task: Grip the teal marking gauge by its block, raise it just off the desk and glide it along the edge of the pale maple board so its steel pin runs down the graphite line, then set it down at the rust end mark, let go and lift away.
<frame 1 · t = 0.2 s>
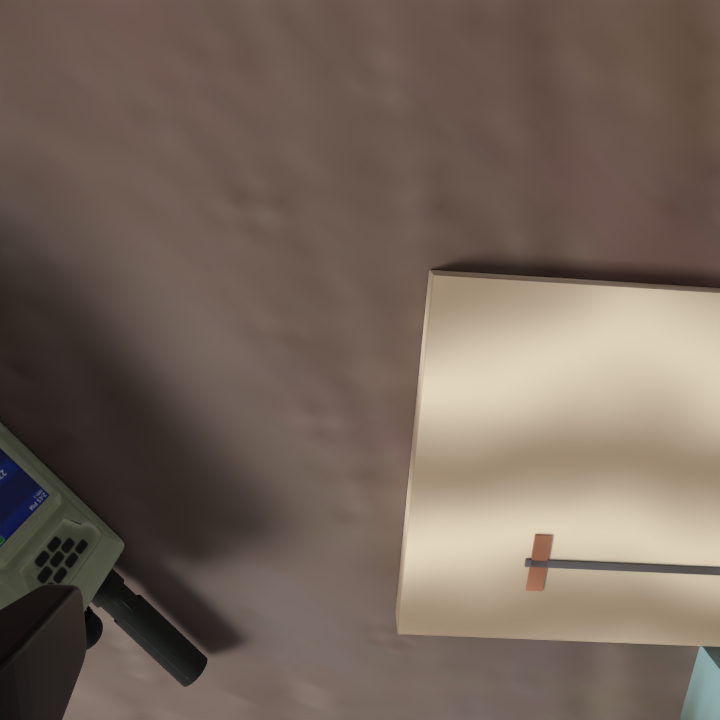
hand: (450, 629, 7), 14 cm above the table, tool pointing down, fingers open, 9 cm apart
maple board: (672, 469, 23), on the table
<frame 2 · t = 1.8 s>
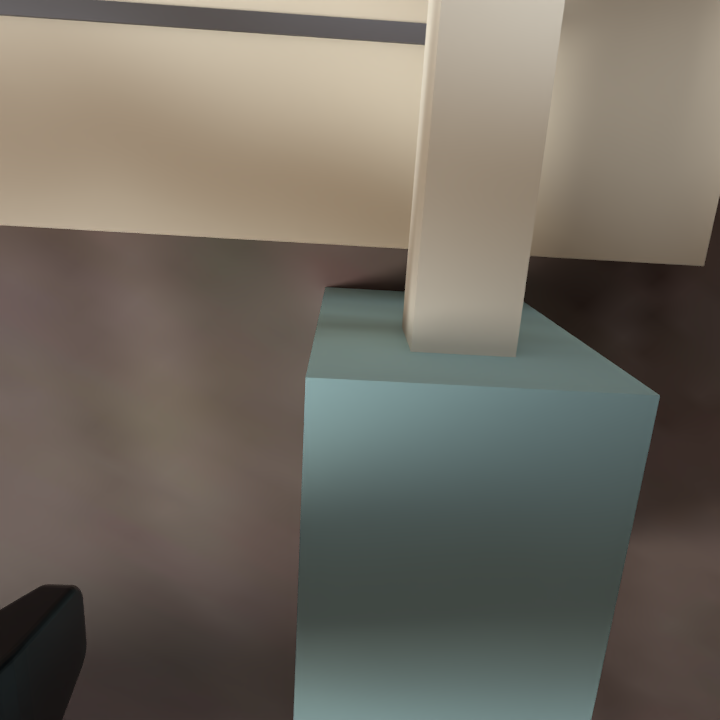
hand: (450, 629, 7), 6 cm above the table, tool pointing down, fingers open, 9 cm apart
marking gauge: (410, 426, 13), on the table
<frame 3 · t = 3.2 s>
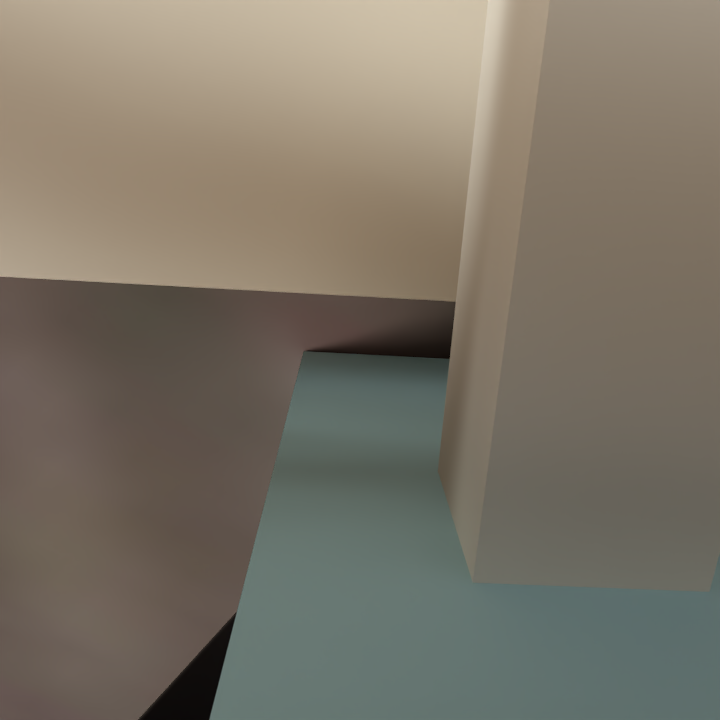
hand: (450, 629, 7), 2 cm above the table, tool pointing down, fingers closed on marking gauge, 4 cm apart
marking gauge: (433, 554, 9), on the table, touching gripper
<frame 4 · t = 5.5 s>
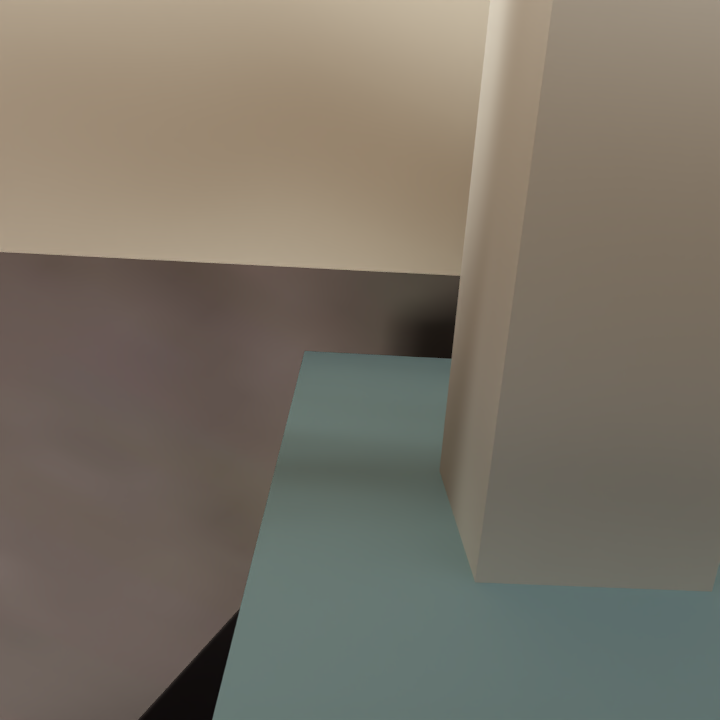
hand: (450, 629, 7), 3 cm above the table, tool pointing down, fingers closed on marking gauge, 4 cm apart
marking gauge: (433, 554, 9), point 1 cm above the table, touching gripper
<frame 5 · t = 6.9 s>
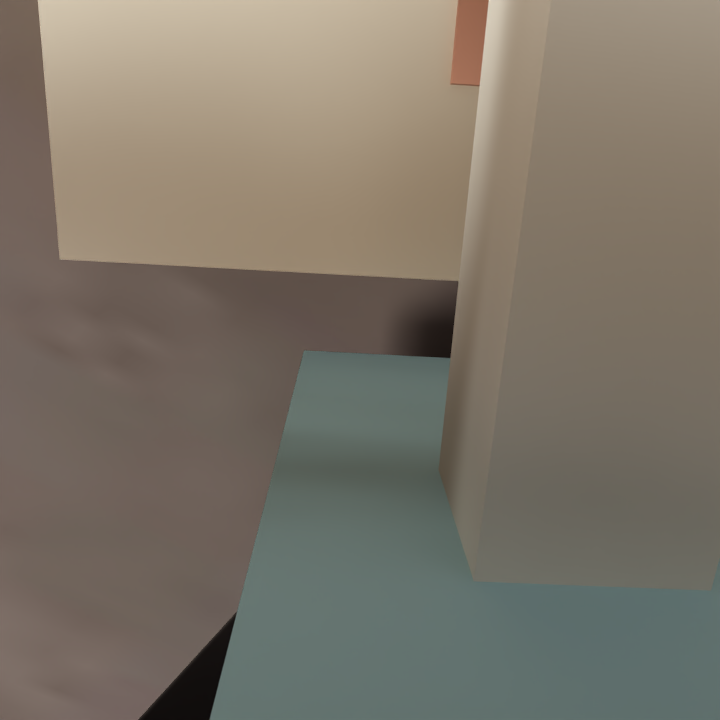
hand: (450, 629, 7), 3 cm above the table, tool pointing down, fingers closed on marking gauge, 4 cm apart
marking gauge: (433, 553, 9), point 1 cm above the table, touching gripper
when the fingers open (2 cm above the table, at t = 8.0 s): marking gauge stays where it is, on the table.
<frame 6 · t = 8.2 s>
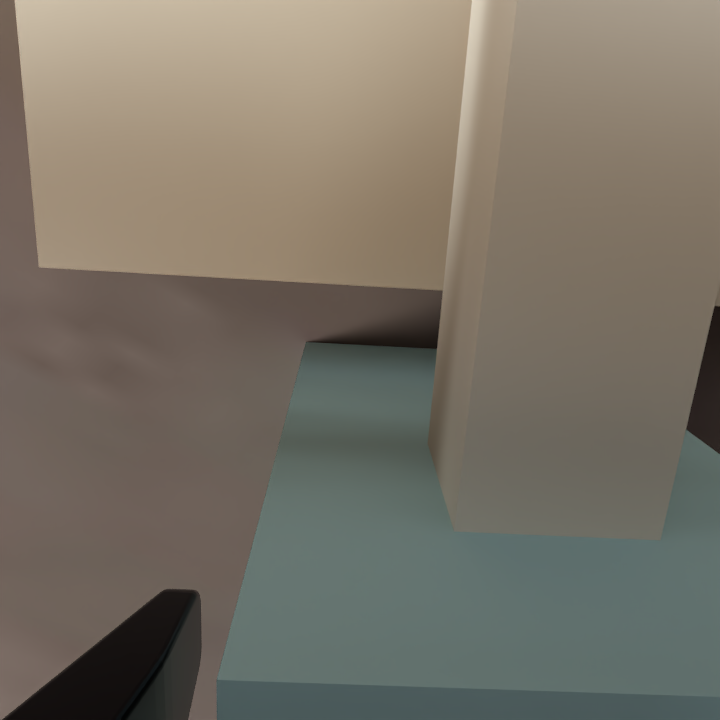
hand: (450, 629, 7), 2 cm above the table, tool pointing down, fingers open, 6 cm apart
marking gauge: (428, 533, 9), on the table
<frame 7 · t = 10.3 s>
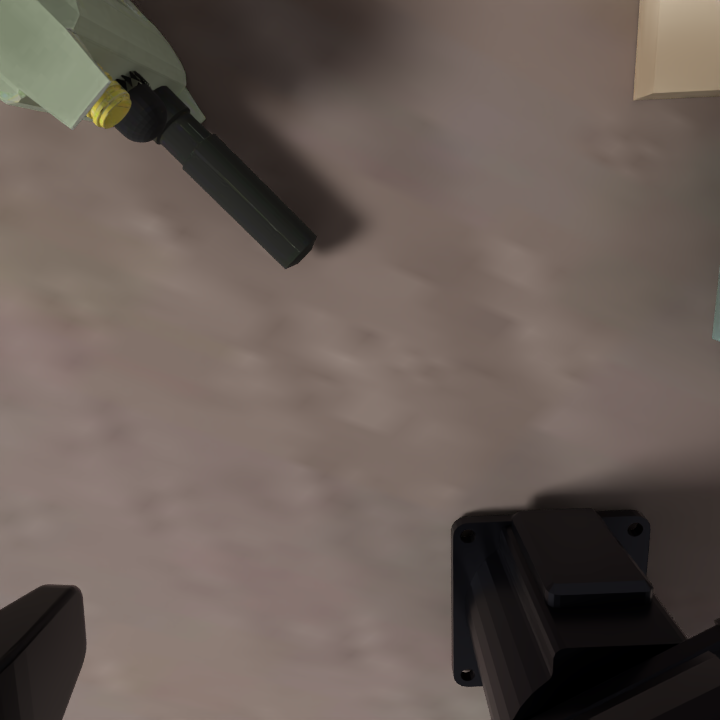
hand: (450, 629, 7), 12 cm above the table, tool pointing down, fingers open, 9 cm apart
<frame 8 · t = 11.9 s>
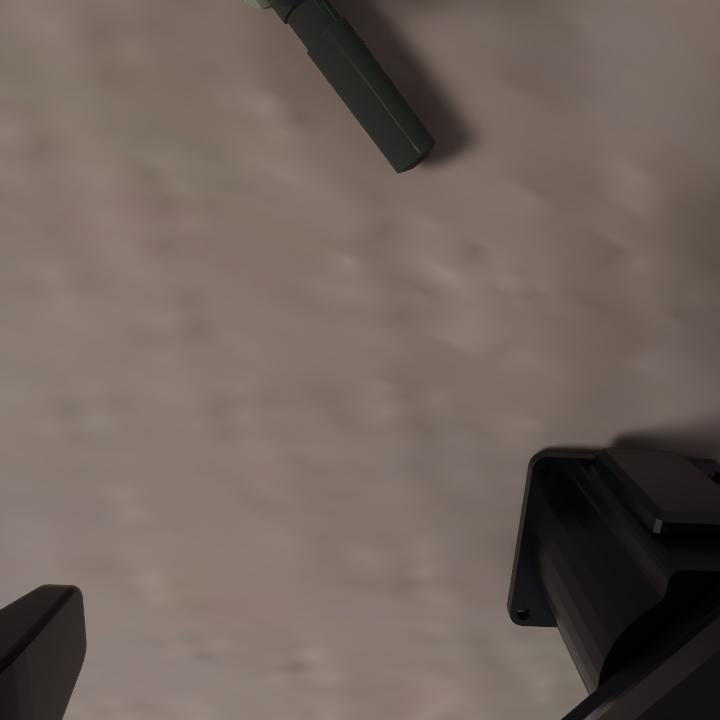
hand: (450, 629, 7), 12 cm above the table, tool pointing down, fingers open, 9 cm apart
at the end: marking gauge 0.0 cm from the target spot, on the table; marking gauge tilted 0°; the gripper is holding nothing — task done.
